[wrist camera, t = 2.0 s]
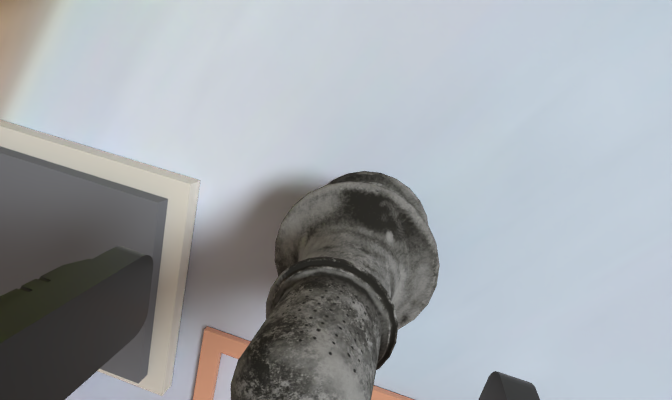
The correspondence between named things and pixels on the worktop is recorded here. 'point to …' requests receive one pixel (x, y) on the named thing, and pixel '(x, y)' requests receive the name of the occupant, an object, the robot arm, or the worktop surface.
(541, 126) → the worktop surface
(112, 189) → the ink pad
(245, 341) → the marked box
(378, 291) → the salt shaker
